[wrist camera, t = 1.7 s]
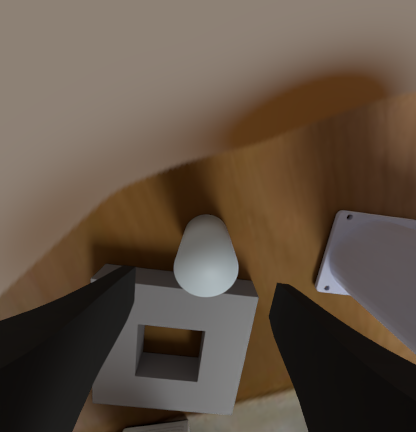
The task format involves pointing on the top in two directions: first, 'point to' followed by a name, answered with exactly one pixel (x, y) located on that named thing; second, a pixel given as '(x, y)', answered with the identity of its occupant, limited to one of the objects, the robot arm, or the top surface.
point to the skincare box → (162, 427)
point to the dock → (171, 364)
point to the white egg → (206, 258)
